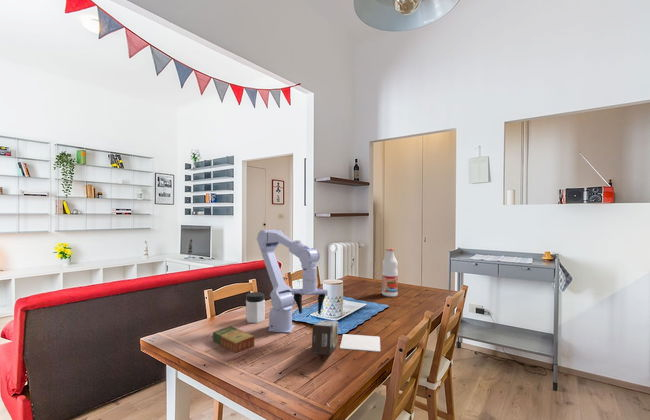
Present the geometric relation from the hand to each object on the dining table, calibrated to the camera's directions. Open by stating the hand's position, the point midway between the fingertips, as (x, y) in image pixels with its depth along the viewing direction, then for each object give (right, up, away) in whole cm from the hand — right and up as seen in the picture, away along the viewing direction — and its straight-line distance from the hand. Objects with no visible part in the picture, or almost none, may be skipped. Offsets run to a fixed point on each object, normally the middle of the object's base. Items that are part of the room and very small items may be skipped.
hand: (309, 313), depth 126 cm
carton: (-29, -11, -4) cm, 32 cm away
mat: (+20, -11, -3) cm, 23 cm away
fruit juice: (+45, -10, +65) cm, 80 cm away
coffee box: (+8, -6, -4) cm, 11 cm away
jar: (-27, -10, +21) cm, 35 cm away
